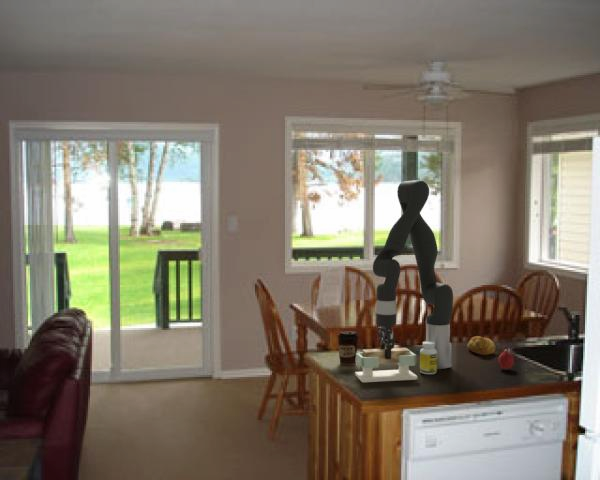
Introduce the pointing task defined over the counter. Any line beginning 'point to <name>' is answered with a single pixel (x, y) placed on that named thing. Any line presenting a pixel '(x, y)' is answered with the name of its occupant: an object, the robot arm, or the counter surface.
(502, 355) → the onion
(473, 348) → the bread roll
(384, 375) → the bracket stand
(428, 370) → the pill bottle
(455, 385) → the counter surface
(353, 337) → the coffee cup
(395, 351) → the tan rectangular bar
